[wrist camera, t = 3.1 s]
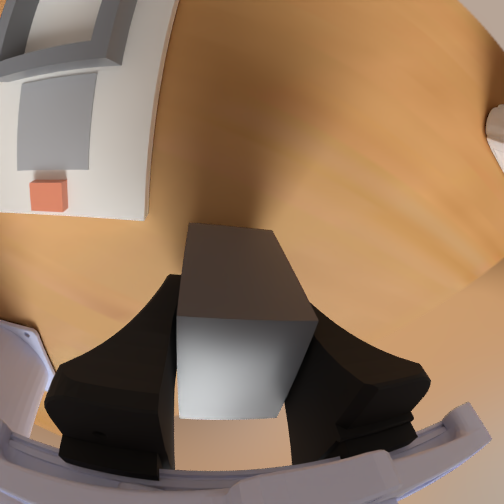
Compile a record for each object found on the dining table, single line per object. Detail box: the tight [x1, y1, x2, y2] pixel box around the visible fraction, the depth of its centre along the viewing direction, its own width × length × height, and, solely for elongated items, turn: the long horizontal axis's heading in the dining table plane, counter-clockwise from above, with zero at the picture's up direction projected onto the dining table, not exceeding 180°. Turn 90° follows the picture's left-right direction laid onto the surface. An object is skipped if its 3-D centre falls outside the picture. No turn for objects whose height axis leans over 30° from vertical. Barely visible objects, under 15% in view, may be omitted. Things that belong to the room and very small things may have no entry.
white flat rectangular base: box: [0, 0, 179, 221], centre depth 7 cm, size 10×16×3 cm, turn 171°
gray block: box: [177, 223, 319, 420], centre depth 11 cm, size 4×5×6 cm
